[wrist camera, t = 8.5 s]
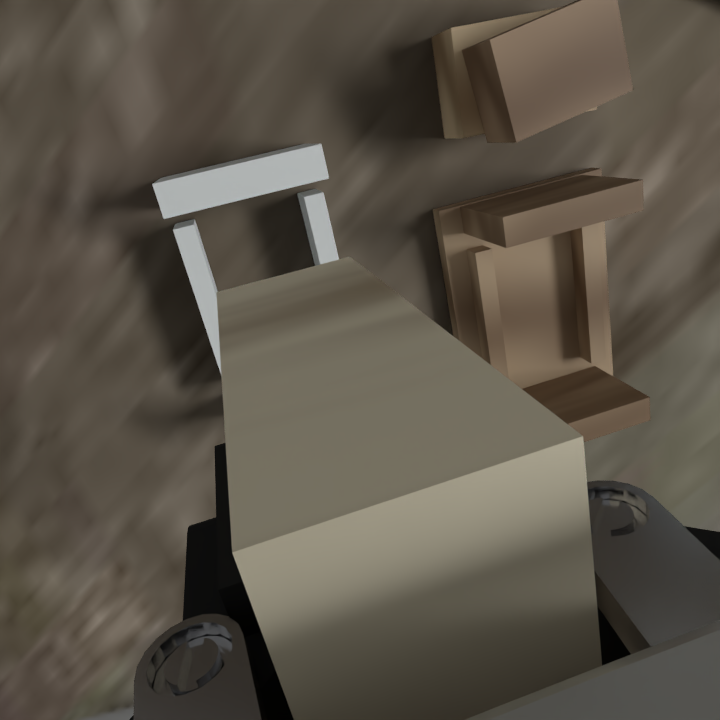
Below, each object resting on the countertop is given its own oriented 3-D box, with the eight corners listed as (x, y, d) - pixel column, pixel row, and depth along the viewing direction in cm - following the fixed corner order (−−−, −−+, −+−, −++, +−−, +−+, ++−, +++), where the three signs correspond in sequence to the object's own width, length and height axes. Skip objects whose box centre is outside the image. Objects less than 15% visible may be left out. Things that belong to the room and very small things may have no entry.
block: (216, 292, 13) (232, 552, 5) (349, 256, 13) (582, 436, 5) (297, 549, 15) (400, 1008, 7) (407, 512, 16) (622, 906, 8)
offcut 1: (428, 38, 25) (450, 28, 23) (559, 13, 26) (592, 1, 24) (441, 138, 27) (463, 138, 24) (564, 112, 27) (597, 109, 25)
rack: (432, 209, 27) (477, 222, 23) (591, 167, 28) (665, 172, 24) (467, 419, 31) (511, 467, 27) (604, 376, 32) (669, 414, 28)
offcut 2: (461, 50, 23) (489, 39, 21) (575, 1, 24) (614, -15, 21) (487, 142, 25) (516, 142, 22) (594, 95, 25) (633, 90, 23)
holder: (160, 177, 24) (152, 184, 20) (304, 143, 25) (321, 143, 21) (238, 414, 28) (242, 454, 25) (359, 377, 29) (381, 411, 25)
